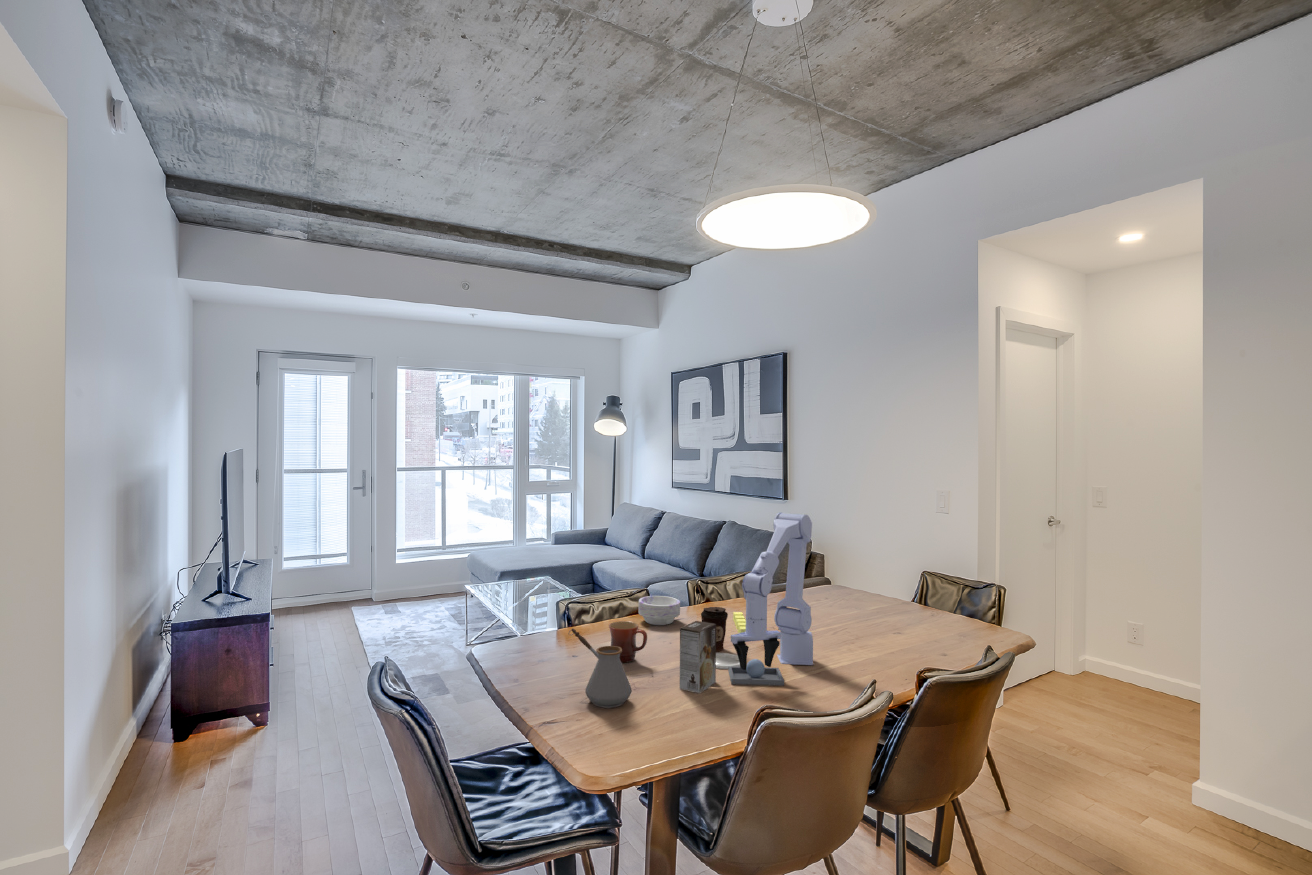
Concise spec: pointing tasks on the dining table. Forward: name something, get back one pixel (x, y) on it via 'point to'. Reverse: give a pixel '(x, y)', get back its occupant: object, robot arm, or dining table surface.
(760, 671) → the ball
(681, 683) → the coffee box
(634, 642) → the mug
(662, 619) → the paper bowls
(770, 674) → the tray
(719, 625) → the coffee cup
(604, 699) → the coffee pot
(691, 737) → the dining table surface
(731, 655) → the saucer
